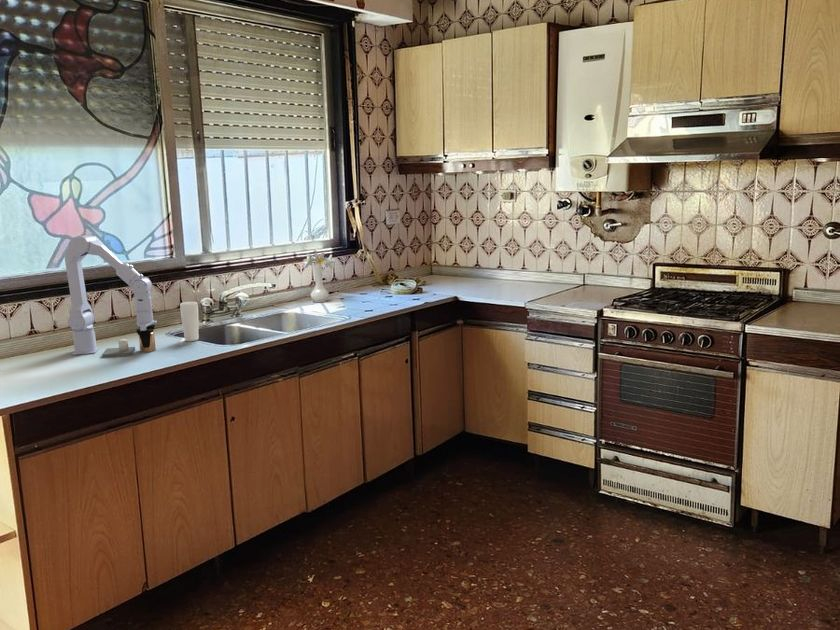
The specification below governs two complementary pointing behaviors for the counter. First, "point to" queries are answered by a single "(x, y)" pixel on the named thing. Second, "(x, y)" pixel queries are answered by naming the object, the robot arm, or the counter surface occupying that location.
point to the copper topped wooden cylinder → (152, 344)
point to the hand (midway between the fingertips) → (147, 345)
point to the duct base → (116, 352)
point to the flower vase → (319, 275)
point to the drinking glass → (190, 320)
